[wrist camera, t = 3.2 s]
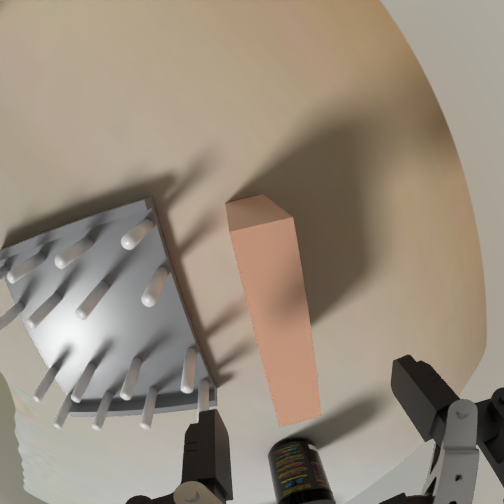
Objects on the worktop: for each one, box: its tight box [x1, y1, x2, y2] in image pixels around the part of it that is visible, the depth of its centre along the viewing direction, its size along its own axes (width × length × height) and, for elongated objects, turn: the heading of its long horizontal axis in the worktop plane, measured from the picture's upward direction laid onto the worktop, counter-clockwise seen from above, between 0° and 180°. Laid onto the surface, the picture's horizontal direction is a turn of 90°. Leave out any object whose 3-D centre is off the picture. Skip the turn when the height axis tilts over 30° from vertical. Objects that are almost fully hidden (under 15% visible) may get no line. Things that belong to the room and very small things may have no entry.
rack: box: [0, 196, 217, 430], centre depth 22 cm, size 18×20×6 cm
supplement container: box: [268, 438, 336, 504], centre depth 28 cm, size 7×7×10 cm
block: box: [226, 194, 321, 427], centre depth 20 cm, size 14×3×10 cm, turn 12°
